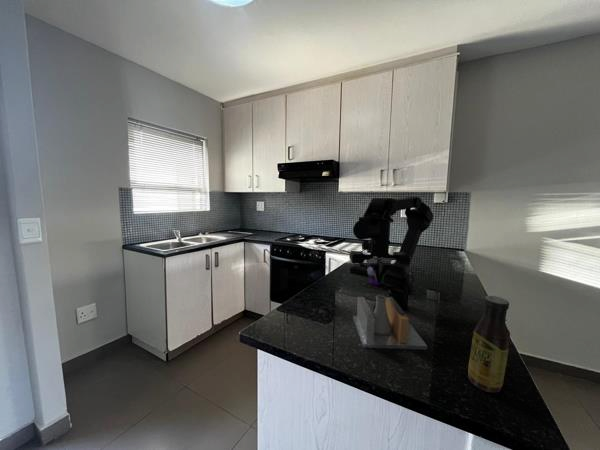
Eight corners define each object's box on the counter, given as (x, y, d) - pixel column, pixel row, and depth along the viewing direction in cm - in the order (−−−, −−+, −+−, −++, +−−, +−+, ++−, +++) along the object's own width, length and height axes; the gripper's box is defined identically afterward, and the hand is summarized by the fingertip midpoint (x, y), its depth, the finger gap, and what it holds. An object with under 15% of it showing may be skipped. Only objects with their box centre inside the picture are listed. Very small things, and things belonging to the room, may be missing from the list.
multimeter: (360, 268, 142) (361, 259, 141) (395, 275, 130) (395, 266, 129) (349, 273, 132) (349, 264, 131) (385, 282, 120) (386, 272, 119)
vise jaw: (390, 317, 82) (392, 294, 81) (407, 343, 68) (409, 314, 67) (384, 317, 82) (386, 293, 81) (399, 342, 68) (401, 314, 67)
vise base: (404, 319, 83) (406, 296, 82) (427, 349, 67) (429, 321, 66) (353, 318, 84) (354, 295, 83) (363, 347, 68) (364, 319, 67)
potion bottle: (378, 289, 110) (379, 262, 108) (362, 283, 116) (363, 258, 115) (389, 284, 115) (390, 259, 114) (373, 279, 122) (374, 255, 120)
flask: (393, 337, 71) (395, 303, 70) (367, 333, 73) (368, 300, 72) (391, 324, 78) (393, 293, 77) (367, 321, 80) (368, 291, 79)
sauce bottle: (460, 374, 58) (468, 292, 55) (485, 373, 58) (494, 291, 56) (483, 397, 51) (493, 305, 49) (511, 395, 52) (523, 304, 50)
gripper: (400, 233, 89) (397, 275, 91) (347, 232, 90) (346, 274, 92) (413, 238, 78) (409, 286, 80) (353, 237, 79) (351, 285, 81)
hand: (377, 282), depth 84 cm, fingers closed
